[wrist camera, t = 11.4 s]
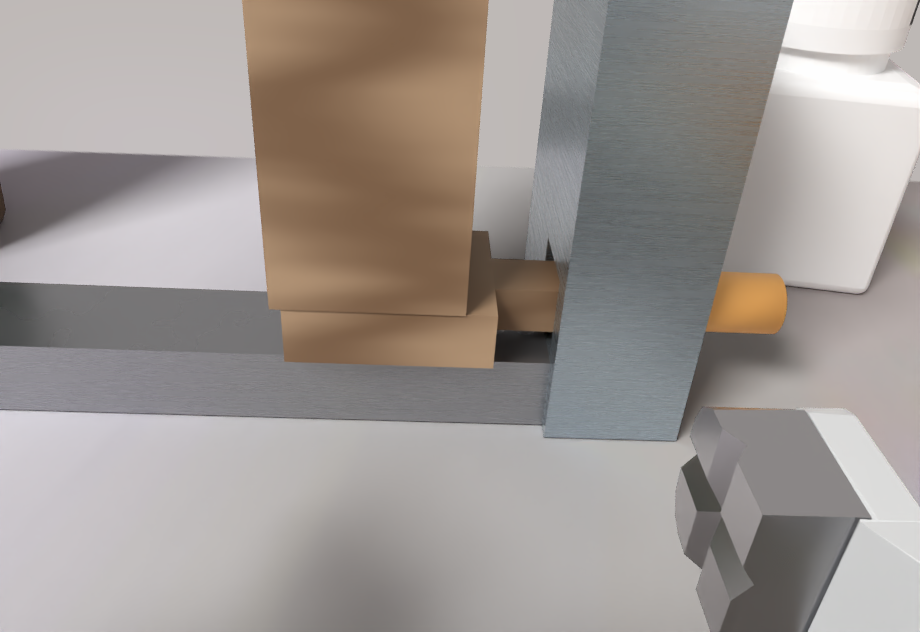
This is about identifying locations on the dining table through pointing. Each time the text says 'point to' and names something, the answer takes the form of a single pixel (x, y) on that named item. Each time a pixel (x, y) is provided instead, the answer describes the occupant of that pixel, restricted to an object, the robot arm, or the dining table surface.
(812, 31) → the medicine bottle
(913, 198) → the dining table surface
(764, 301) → the pin
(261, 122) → the carriage
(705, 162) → the rail and cabinet
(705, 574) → the robot arm
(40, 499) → the dining table surface
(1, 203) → the beer bottle
